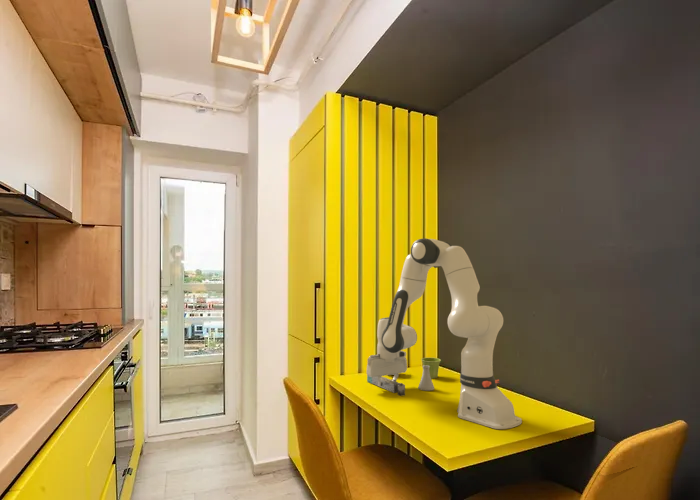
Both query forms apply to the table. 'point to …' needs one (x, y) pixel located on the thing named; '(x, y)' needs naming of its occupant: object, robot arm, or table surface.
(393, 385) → the upper tong arm
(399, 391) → the tong pivot
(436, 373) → the plant pot
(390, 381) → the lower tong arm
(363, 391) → the table surface
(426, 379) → the flask
